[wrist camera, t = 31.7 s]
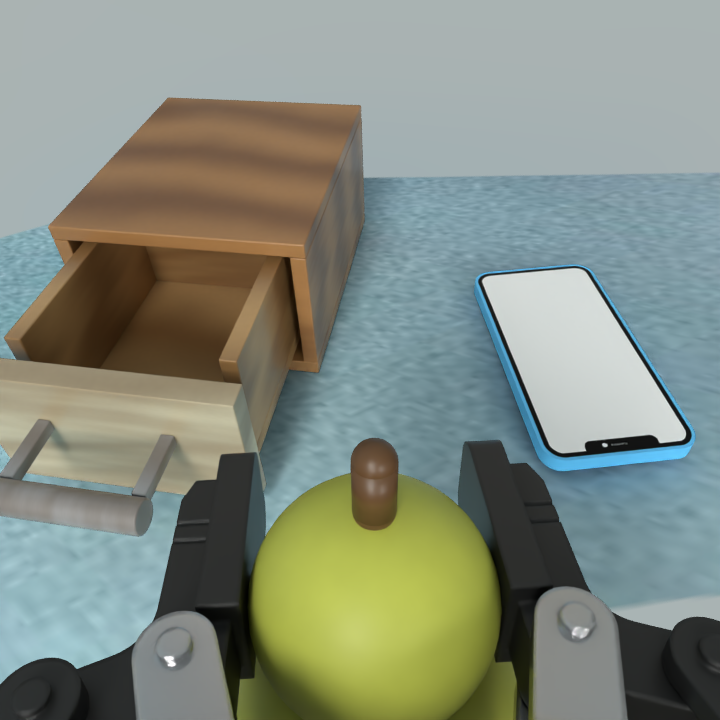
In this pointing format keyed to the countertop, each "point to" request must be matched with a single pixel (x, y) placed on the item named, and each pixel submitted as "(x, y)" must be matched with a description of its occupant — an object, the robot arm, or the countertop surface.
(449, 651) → the pear
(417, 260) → the countertop surface
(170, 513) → the countertop surface
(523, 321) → the smartphone
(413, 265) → the countertop surface
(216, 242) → the cabinet
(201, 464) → the drawer
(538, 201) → the countertop surface
